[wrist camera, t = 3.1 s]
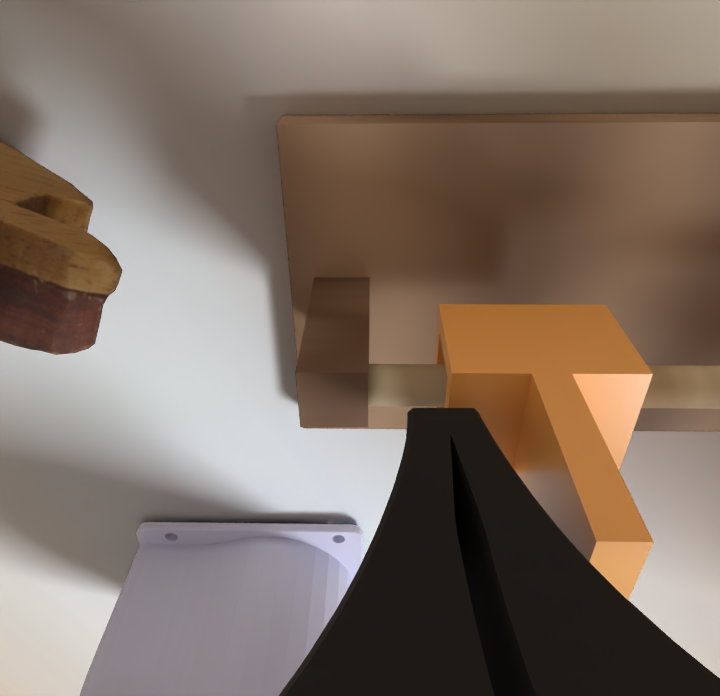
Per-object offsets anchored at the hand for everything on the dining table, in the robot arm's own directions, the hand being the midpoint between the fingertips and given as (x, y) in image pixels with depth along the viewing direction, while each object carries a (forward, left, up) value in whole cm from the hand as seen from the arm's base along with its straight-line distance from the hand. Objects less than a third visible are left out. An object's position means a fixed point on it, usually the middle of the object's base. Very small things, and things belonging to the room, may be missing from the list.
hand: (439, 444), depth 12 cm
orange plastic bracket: (+2, 0, -3) cm, 4 cm away
